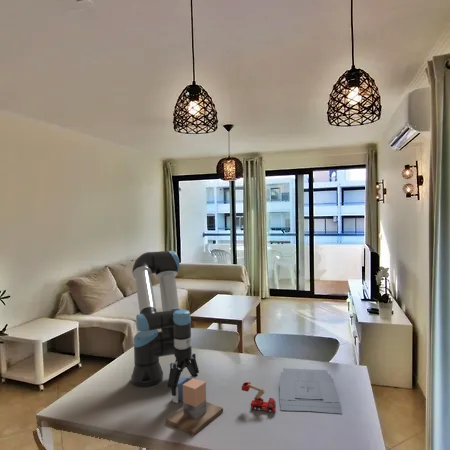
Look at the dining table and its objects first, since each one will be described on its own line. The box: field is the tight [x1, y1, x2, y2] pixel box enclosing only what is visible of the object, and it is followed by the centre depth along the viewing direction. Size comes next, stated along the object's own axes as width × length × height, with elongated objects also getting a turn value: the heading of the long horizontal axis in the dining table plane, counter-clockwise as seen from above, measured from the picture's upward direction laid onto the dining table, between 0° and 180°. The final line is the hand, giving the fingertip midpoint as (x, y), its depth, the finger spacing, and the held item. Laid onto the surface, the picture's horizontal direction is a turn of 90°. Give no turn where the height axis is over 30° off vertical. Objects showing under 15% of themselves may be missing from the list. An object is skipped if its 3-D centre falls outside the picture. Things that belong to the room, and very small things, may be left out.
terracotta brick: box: [182, 378, 207, 407], centre depth 137 cm, size 6×6×7 cm
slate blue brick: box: [177, 375, 191, 402], centre depth 153 cm, size 6×6×7 cm
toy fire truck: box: [241, 381, 277, 413], centre depth 142 cm, size 3×14×10 cm, turn 71°
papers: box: [279, 367, 343, 415], centre depth 153 cm, size 24×30×4 cm
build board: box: [165, 399, 224, 436], centre depth 138 cm, size 14×18×6 cm
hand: (184, 396), depth 153 cm, fingers open, 10 cm apart
